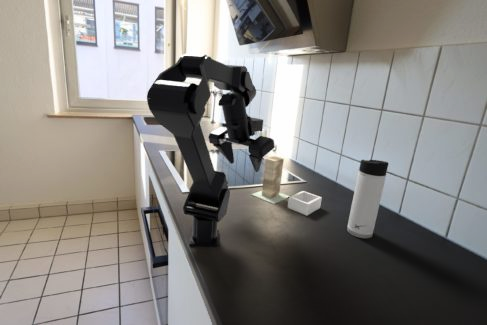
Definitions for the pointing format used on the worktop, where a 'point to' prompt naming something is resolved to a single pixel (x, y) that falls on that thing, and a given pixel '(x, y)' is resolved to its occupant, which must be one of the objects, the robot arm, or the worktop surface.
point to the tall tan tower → (272, 177)
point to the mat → (272, 200)
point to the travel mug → (367, 198)
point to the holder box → (304, 202)
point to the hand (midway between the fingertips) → (244, 167)
